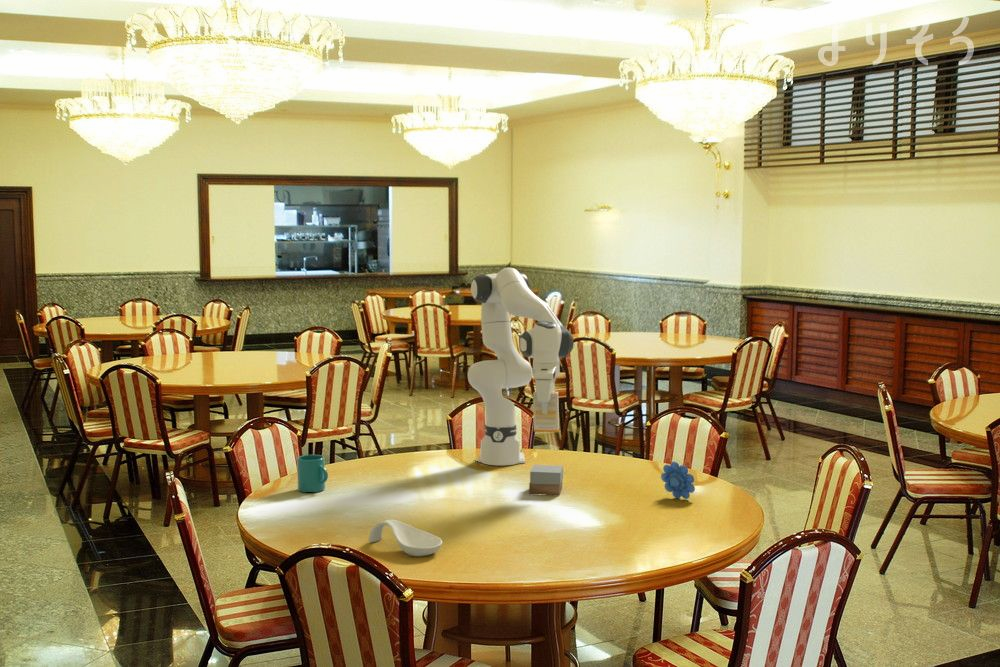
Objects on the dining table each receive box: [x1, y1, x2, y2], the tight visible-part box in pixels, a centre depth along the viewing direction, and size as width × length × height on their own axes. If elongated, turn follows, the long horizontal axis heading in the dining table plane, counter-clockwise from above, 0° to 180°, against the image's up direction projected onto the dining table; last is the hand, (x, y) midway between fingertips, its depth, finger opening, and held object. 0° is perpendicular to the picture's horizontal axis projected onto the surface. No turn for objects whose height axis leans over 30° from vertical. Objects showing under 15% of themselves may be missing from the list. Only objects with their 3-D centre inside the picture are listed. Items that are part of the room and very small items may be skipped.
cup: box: [296, 454, 329, 493], centre depth 336 cm, size 9×12×11 cm
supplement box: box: [532, 391, 560, 433], centre depth 333 cm, size 8×5×13 cm, turn 82°
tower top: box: [529, 464, 564, 485], centre depth 335 cm, size 10×10×4 cm
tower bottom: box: [528, 478, 564, 496], centre depth 335 cm, size 10×10×4 cm
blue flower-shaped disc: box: [660, 461, 696, 499], centre depth 324 cm, size 12×7×12 cm, turn 58°
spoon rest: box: [368, 519, 443, 557], centre depth 273 cm, size 24×12×7 cm, turn 52°
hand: (546, 411), depth 333 cm, fingers closed on supplement box, 5 cm apart
